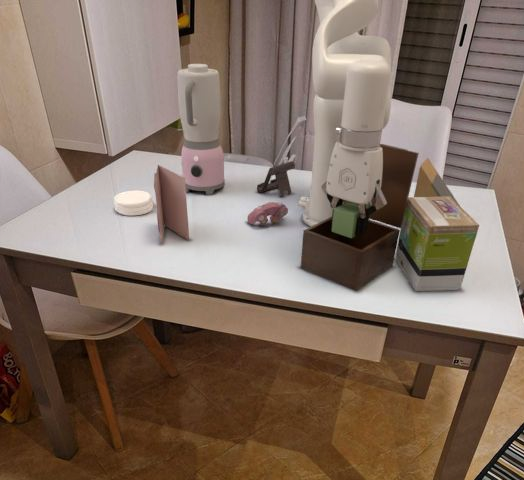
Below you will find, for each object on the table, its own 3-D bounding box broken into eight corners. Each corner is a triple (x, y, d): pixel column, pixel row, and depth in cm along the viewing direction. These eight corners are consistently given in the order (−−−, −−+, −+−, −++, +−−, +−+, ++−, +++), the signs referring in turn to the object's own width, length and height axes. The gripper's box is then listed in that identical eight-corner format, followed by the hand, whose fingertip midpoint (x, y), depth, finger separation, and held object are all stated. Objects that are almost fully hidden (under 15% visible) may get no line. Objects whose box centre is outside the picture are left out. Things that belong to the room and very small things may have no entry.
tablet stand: (277, 185, 151) (278, 156, 146) (296, 191, 147) (298, 162, 142) (256, 192, 146) (257, 163, 141) (276, 199, 142) (277, 169, 136)
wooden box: (356, 291, 102) (362, 252, 96) (300, 267, 109) (303, 230, 104) (392, 266, 110) (400, 229, 105) (338, 246, 118) (342, 211, 113)
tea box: (392, 258, 113) (405, 195, 104) (435, 257, 114) (451, 194, 105) (414, 292, 102) (430, 224, 93) (461, 291, 102) (482, 223, 93)
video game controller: (251, 233, 127) (257, 214, 121) (244, 219, 128) (250, 200, 122) (285, 226, 130) (292, 207, 124) (278, 213, 132) (285, 194, 126)
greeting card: (161, 225, 126) (154, 164, 117) (190, 224, 127) (186, 164, 117) (157, 244, 117) (149, 181, 108) (189, 244, 118) (184, 180, 108)
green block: (331, 231, 103) (333, 208, 100) (344, 224, 106) (347, 201, 103) (351, 238, 100) (354, 214, 97) (364, 231, 103) (368, 208, 100)
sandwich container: (469, 236, 124) (486, 175, 115) (407, 224, 129) (419, 165, 120) (473, 223, 130) (490, 165, 121) (414, 213, 135) (426, 156, 126)
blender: (191, 179, 154) (183, 60, 134) (229, 182, 152) (227, 63, 132) (173, 196, 142) (161, 69, 122) (214, 201, 140) (209, 72, 120)
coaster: (108, 212, 132) (105, 199, 130) (129, 200, 139) (127, 187, 137) (140, 218, 129) (138, 205, 127) (160, 205, 136) (159, 193, 134)
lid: (417, 153, 96) (428, 150, 99) (354, 138, 104) (366, 136, 107) (399, 228, 105) (410, 223, 108) (342, 209, 112) (354, 205, 115)
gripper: (311, 133, 94) (304, 224, 105) (390, 150, 85) (374, 248, 96) (334, 126, 99) (325, 214, 110) (411, 142, 90) (393, 236, 101)
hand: (348, 229), depth 103 cm, fingers closed on green block, 5 cm apart
